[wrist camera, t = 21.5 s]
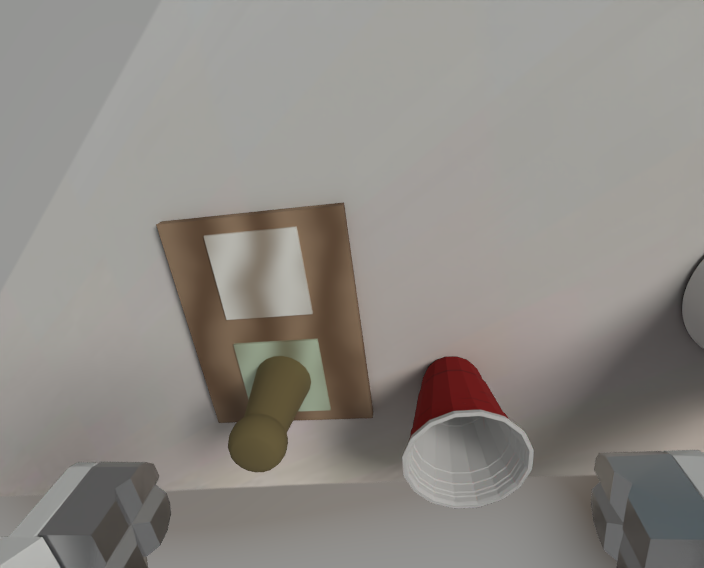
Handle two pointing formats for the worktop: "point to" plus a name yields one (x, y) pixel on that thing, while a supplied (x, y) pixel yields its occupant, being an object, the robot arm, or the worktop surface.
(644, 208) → the worktop surface
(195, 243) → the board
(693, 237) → the worktop surface
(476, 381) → the plastic cup
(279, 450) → the cork
